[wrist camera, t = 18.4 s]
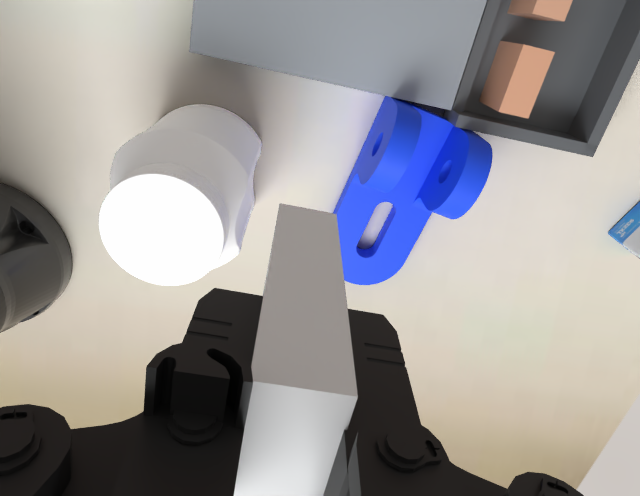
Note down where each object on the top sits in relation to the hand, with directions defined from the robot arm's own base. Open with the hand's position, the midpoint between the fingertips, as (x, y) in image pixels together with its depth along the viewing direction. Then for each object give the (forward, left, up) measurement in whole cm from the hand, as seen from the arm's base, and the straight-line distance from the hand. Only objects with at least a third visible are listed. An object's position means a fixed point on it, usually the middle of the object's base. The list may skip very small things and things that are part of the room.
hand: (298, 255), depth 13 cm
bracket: (+9, -9, -33) cm, 35 cm away
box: (+19, +8, -32) cm, 38 cm away
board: (+1, +8, -32) cm, 33 cm away
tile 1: (+15, +4, -29) cm, 33 cm away
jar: (-8, -9, -33) cm, 35 cm away
